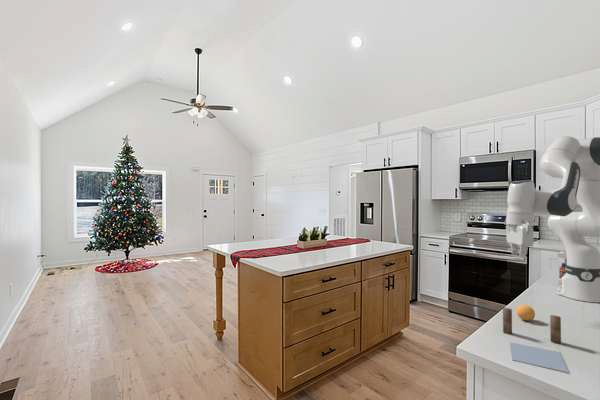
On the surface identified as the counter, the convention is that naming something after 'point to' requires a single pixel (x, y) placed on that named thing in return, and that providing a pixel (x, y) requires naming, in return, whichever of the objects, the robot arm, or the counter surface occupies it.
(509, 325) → the post
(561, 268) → the supplement bottle
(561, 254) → the beer glass
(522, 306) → the ball
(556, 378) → the counter surface
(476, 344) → the counter surface
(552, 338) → the post
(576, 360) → the counter surface
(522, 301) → the counter surface
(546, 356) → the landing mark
